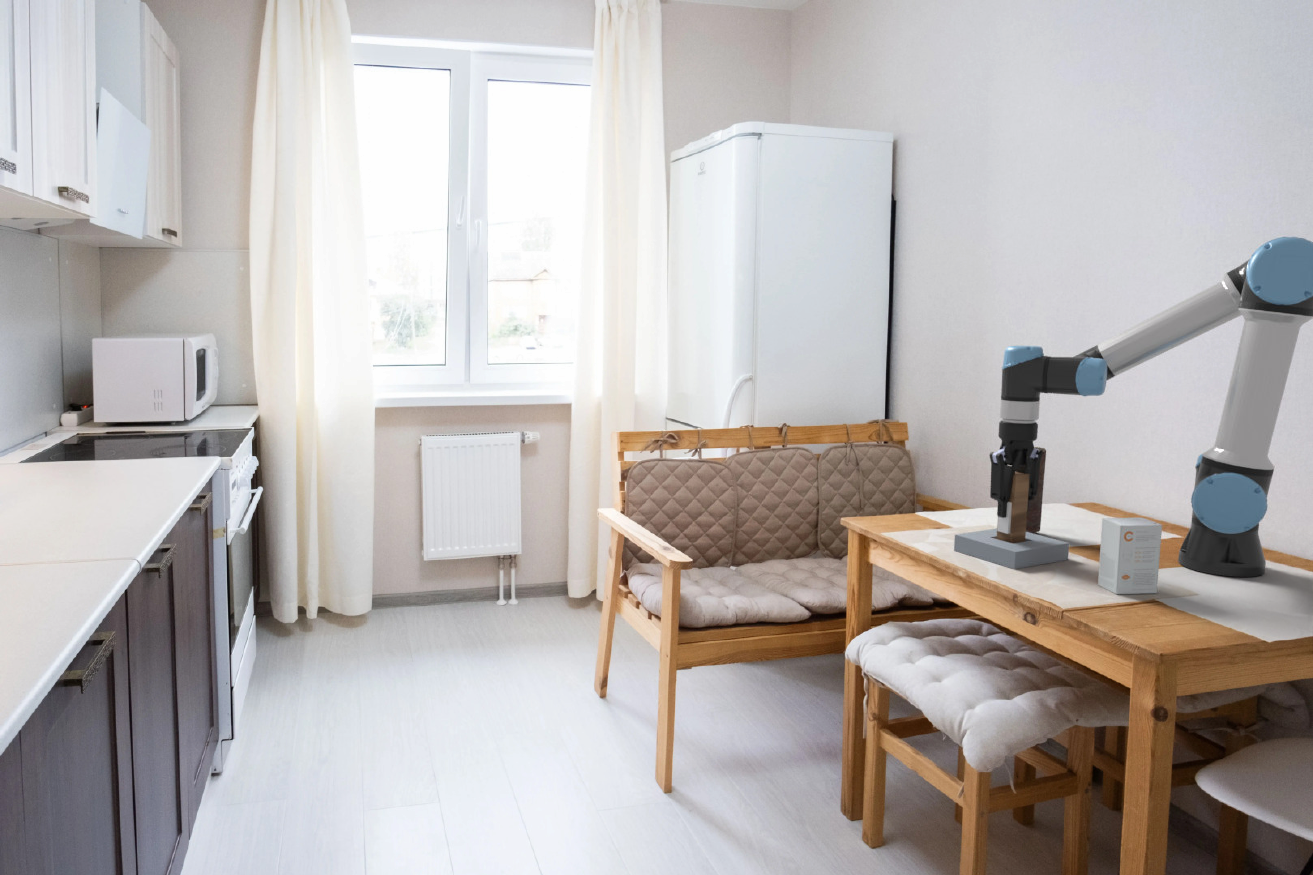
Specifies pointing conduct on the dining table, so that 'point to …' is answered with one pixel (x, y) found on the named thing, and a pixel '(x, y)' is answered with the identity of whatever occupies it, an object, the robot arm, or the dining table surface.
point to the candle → (1036, 500)
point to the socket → (1011, 549)
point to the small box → (1129, 555)
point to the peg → (1017, 510)
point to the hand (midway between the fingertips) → (1011, 530)
